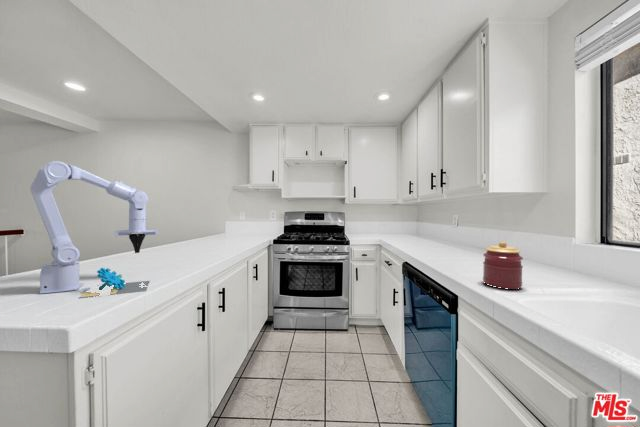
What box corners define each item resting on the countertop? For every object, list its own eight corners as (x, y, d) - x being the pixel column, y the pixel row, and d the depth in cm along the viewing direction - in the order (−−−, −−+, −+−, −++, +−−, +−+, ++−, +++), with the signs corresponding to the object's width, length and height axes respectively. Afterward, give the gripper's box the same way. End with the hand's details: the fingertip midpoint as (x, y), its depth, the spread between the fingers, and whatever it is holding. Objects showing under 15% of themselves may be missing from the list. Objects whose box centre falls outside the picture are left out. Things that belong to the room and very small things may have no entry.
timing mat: (78, 300, 84) (78, 298, 84) (91, 287, 97) (91, 286, 97) (146, 292, 93) (146, 290, 93) (149, 282, 106) (149, 280, 106)
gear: (115, 288, 89) (94, 267, 89) (100, 301, 88) (78, 280, 88) (133, 284, 100) (114, 265, 100) (120, 295, 99) (101, 276, 99)
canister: (479, 285, 105) (480, 241, 105) (486, 279, 115) (487, 238, 115) (520, 292, 97) (521, 244, 96) (524, 285, 106) (525, 241, 106)
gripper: (113, 220, 103) (113, 255, 103) (157, 219, 110) (157, 252, 110) (117, 219, 109) (116, 252, 109) (158, 219, 116) (158, 250, 116)
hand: (137, 252), depth 110 cm, fingers closed
